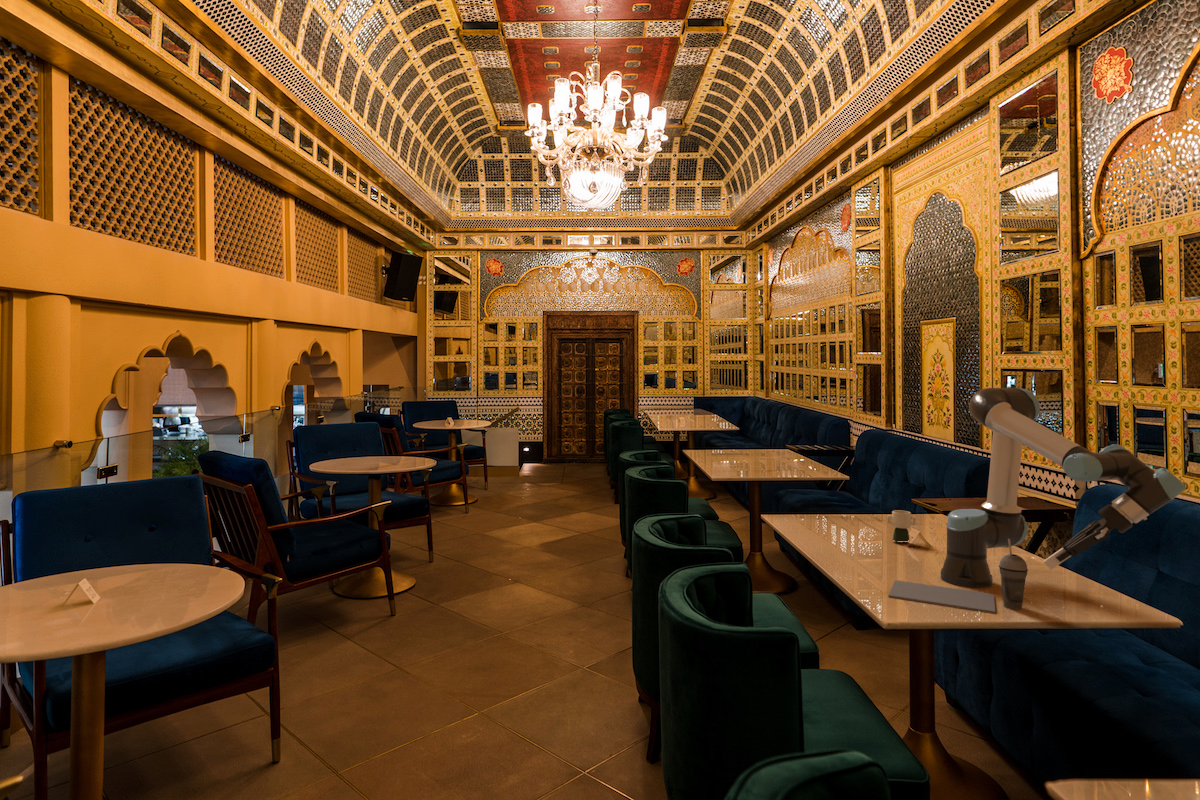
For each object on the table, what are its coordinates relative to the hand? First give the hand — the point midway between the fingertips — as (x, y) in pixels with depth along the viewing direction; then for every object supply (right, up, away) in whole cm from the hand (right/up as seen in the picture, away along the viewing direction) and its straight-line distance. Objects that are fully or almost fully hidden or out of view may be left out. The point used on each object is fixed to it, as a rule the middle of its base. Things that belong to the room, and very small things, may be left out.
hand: (1047, 565), depth 185 cm
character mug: (-3, -12, +82) cm, 83 cm away
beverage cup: (-7, -14, +4) cm, 16 cm away
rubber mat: (-23, -13, +14) cm, 30 cm away
